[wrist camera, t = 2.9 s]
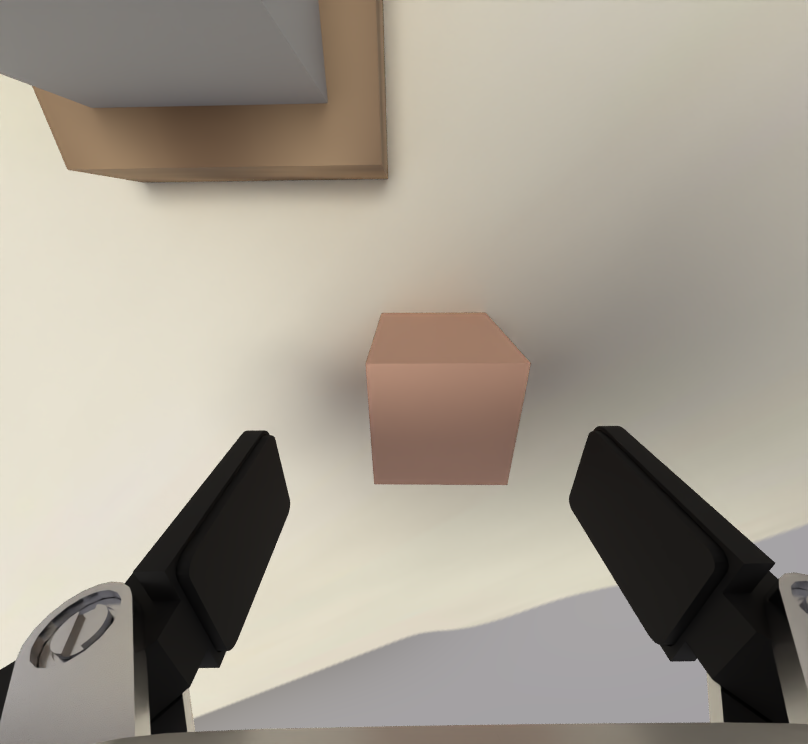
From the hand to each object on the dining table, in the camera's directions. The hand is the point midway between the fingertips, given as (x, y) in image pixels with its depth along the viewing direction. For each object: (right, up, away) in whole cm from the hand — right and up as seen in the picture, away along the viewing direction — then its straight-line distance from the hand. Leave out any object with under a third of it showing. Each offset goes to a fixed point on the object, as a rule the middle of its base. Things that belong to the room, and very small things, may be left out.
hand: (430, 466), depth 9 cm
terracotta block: (+1, +3, +6) cm, 7 cm away
